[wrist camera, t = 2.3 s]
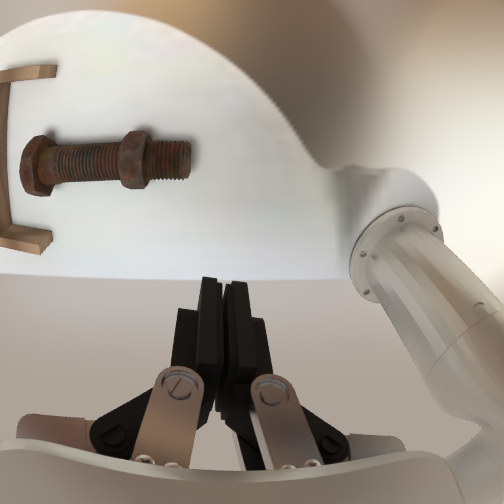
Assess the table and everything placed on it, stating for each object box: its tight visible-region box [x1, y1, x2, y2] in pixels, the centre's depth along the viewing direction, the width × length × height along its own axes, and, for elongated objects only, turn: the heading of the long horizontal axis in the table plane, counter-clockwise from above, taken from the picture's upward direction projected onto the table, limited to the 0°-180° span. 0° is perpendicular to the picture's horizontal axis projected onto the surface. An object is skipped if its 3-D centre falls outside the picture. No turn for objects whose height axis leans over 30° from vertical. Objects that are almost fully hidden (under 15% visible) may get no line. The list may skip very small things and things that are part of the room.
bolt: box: [19, 131, 191, 197], centre depth 22 cm, size 6×5×15 cm
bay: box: [0, 65, 57, 255], centre depth 20 cm, size 7×18×3 cm, turn 167°
